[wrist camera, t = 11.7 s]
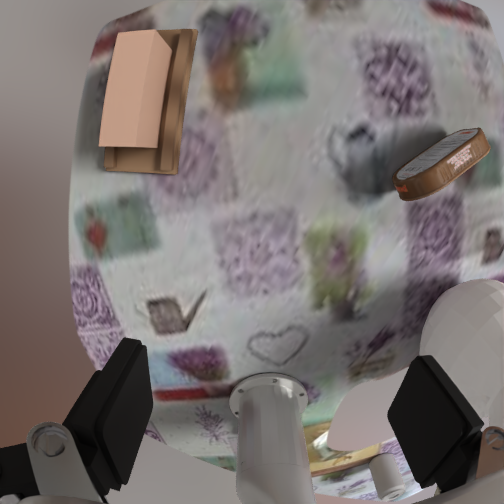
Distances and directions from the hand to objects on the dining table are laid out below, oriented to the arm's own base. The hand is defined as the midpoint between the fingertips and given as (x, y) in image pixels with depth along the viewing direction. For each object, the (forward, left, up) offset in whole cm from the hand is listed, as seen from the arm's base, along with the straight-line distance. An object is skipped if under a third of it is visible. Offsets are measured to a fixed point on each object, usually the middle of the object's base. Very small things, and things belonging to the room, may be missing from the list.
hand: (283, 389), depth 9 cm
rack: (+13, +15, -27) cm, 34 cm away
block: (+13, +15, -26) cm, 33 cm away
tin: (+11, -20, -27) cm, 36 cm away
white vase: (-11, -32, -27) cm, 44 cm away
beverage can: (-52, -36, -27) cm, 69 cm away
